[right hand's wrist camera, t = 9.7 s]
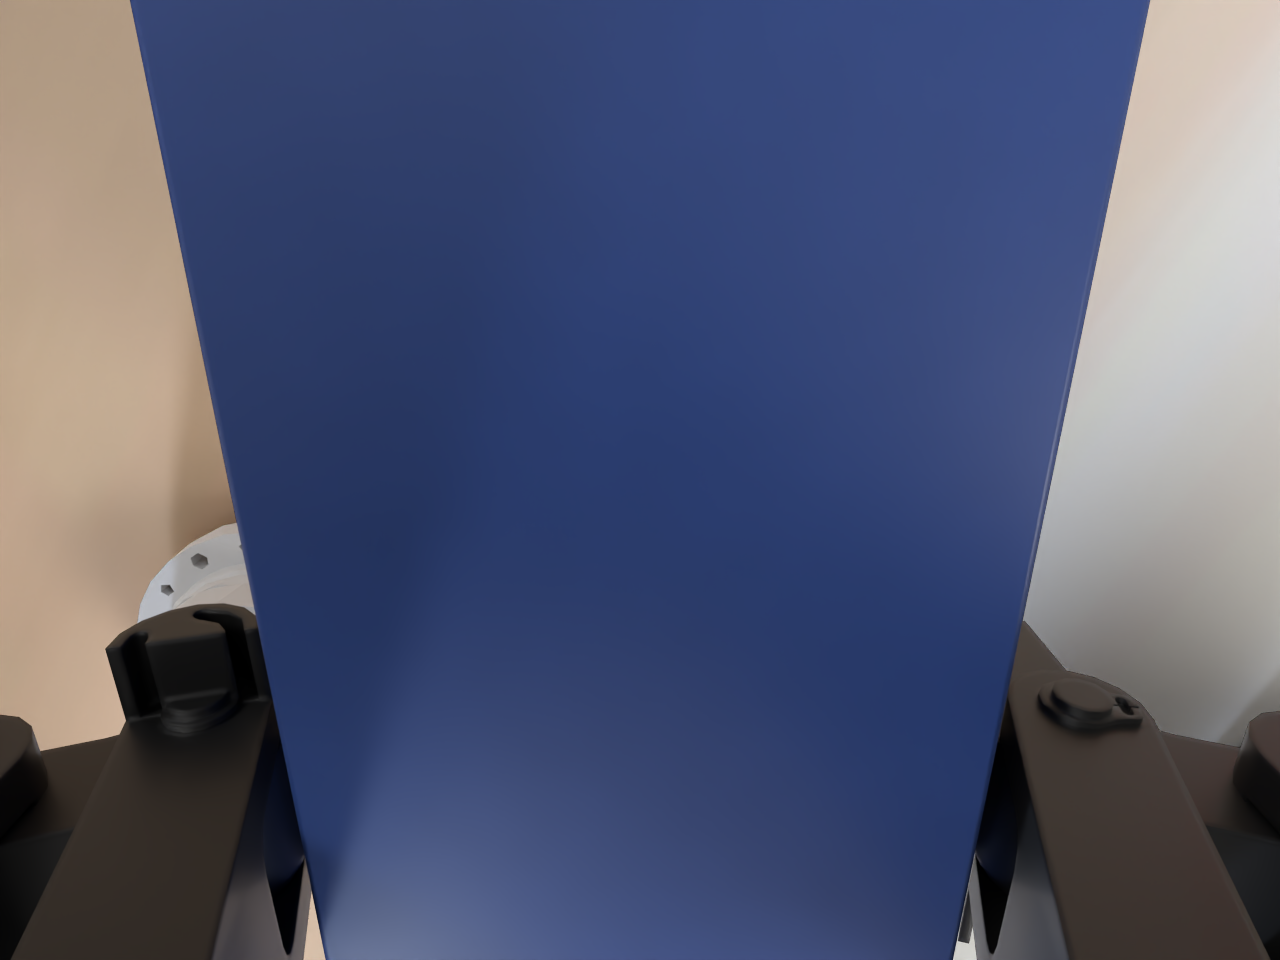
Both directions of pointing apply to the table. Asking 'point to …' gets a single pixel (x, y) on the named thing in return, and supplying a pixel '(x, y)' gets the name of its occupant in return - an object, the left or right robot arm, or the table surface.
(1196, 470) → the table surface
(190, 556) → the mechanical component
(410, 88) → the bar
